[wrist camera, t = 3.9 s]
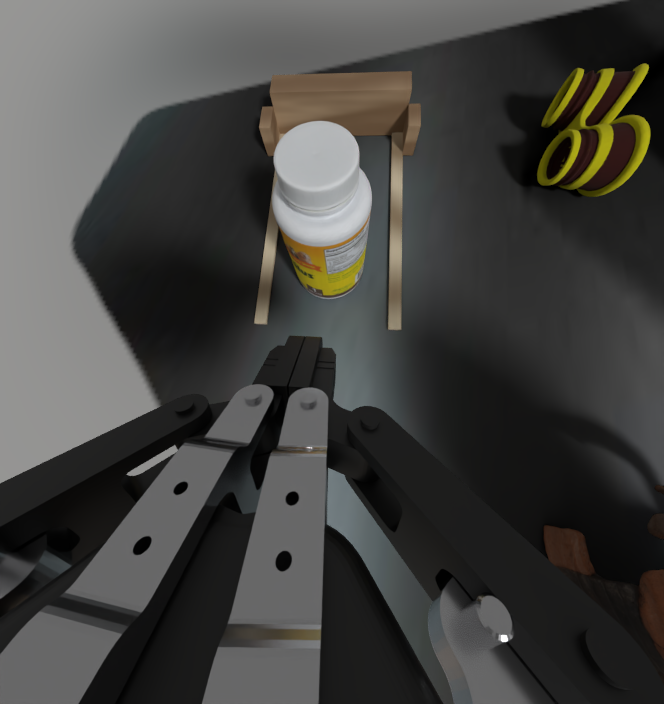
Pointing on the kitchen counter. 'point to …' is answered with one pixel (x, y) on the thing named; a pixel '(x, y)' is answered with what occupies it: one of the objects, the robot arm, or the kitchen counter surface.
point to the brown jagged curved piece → (616, 588)
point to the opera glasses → (594, 132)
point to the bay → (360, 120)
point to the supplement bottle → (322, 206)
